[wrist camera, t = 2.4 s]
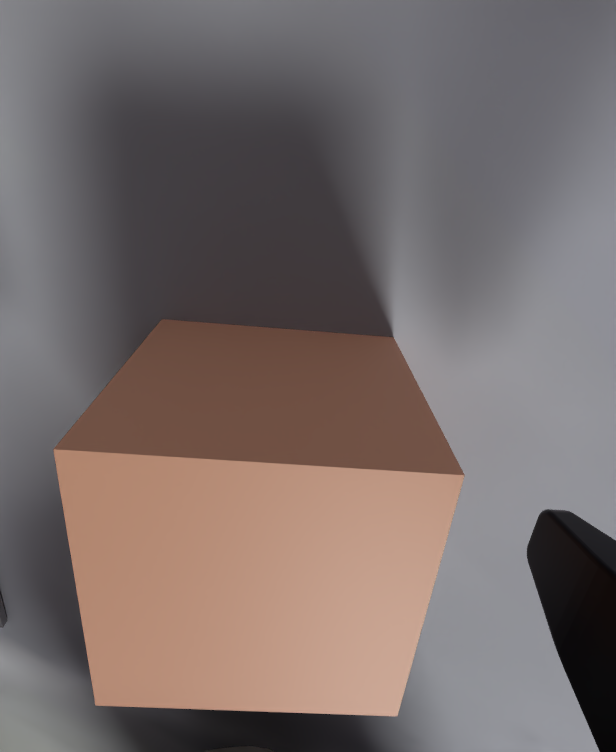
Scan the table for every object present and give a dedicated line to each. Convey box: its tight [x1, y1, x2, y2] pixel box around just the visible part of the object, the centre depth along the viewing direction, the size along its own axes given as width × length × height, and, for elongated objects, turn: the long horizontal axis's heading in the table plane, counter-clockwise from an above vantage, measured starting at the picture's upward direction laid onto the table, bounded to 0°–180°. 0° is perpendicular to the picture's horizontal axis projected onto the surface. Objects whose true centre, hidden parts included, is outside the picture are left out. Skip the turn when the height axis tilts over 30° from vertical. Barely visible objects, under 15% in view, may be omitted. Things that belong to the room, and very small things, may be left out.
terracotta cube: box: [53, 319, 465, 716], centre depth 8 cm, size 4×4×4 cm
